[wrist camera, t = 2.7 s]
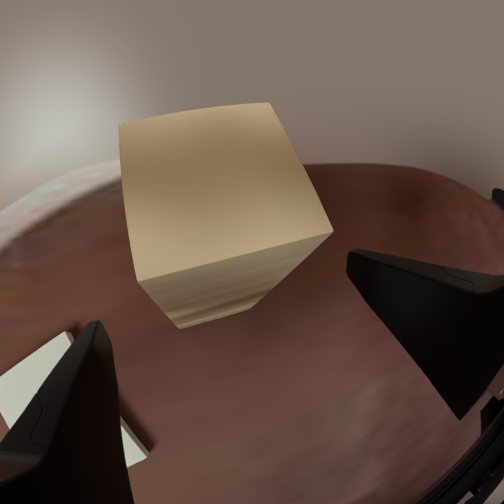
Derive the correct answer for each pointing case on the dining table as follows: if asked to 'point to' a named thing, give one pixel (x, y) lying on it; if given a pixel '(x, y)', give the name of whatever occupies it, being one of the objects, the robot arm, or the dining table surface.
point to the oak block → (216, 208)
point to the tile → (31, 378)
